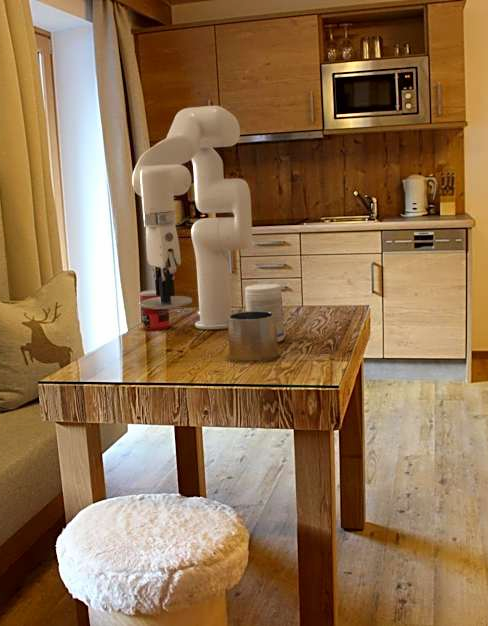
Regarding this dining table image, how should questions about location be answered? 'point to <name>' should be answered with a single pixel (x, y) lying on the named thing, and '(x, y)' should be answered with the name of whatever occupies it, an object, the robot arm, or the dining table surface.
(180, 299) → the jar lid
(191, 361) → the dining table surface
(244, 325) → the steel jar
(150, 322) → the canned food
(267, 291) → the supplement tub
